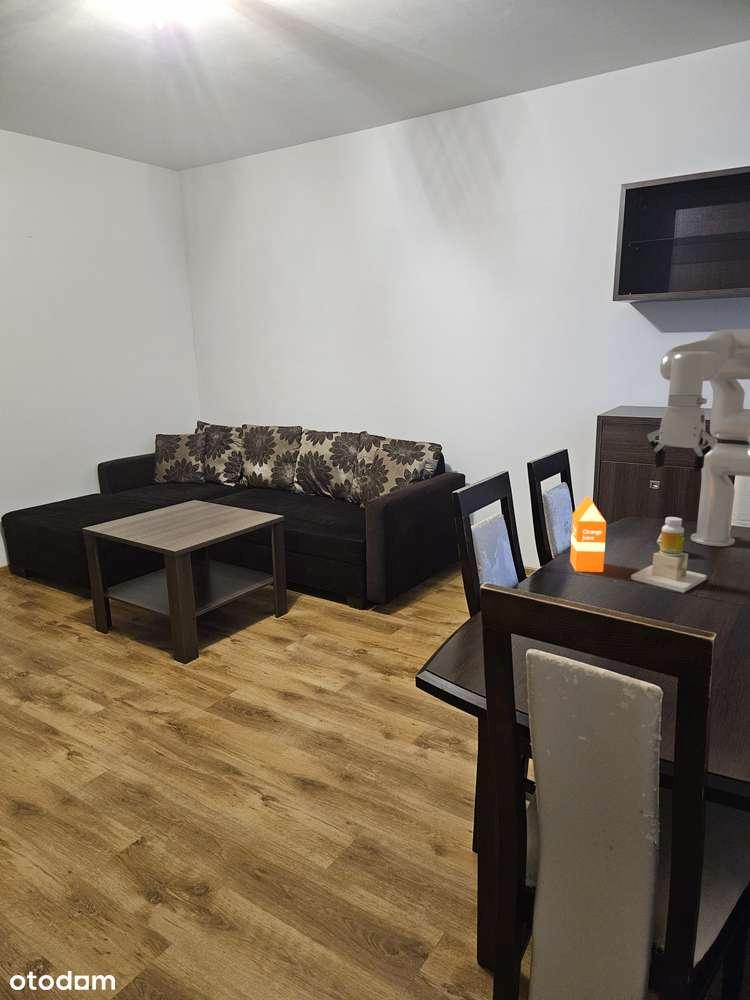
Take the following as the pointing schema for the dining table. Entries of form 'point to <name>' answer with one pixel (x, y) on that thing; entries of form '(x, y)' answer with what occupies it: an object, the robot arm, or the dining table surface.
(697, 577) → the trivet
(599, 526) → the orange juice
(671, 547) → the supplement bottle
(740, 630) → the dining table surface
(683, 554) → the beech block
